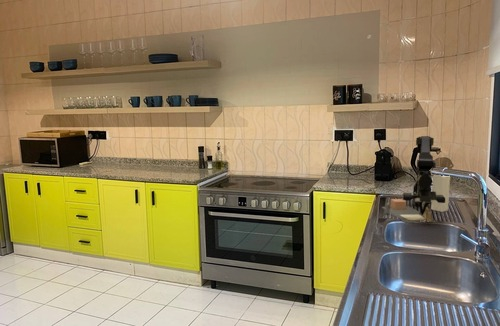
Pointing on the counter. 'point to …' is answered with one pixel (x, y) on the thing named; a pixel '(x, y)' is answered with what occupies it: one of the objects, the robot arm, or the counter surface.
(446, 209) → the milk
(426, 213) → the tan wooden bar
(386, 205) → the olive long rounded piece
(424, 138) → the robot arm
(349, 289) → the counter surface
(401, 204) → the block
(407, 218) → the grey panel
